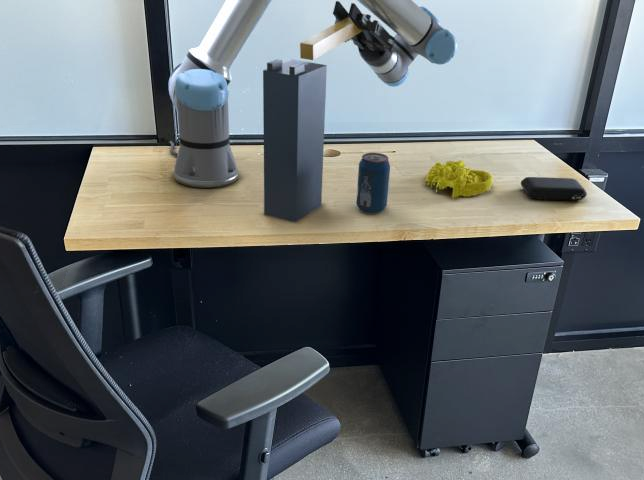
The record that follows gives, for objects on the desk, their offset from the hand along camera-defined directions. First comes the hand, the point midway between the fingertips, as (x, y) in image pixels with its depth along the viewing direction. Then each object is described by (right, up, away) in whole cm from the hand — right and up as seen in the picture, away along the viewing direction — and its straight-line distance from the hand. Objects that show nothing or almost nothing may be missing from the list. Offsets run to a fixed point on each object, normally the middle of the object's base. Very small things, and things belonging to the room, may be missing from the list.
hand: (343, 8), depth 160 cm
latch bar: (-2, -7, +1) cm, 7 cm away
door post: (-11, -42, +6) cm, 44 cm away
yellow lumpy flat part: (+29, -32, +25) cm, 49 cm away
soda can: (+6, -41, +9) cm, 43 cm away
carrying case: (+51, -35, +22) cm, 66 cm away
